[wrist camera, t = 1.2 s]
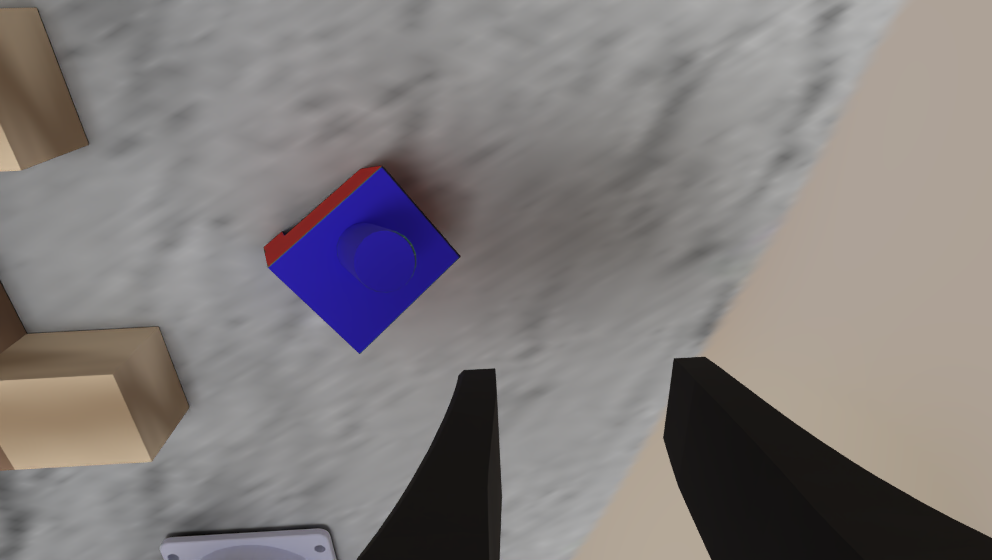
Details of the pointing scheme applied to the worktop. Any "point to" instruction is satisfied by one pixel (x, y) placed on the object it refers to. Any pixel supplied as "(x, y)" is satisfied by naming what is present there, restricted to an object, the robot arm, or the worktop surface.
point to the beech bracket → (76, 354)
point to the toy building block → (361, 256)
